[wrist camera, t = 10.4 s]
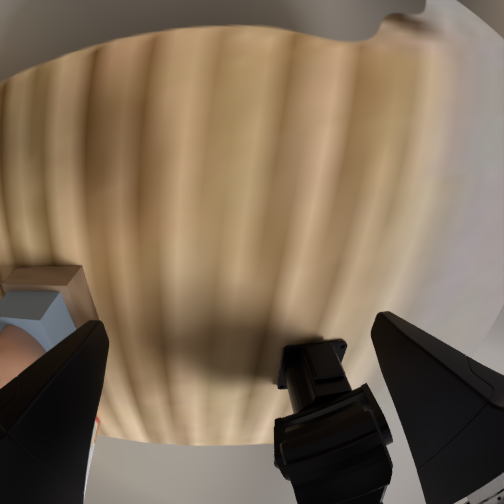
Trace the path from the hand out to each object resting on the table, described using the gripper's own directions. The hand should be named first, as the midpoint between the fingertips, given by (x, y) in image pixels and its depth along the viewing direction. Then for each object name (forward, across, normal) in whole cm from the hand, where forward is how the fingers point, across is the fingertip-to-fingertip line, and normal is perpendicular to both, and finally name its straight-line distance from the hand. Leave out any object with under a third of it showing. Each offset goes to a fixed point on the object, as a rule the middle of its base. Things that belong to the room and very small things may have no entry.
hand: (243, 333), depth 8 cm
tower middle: (+9, +16, +8) cm, 20 cm away
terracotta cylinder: (+6, +16, +8) cm, 19 cm away
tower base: (+12, +16, +8) cm, 22 cm away
